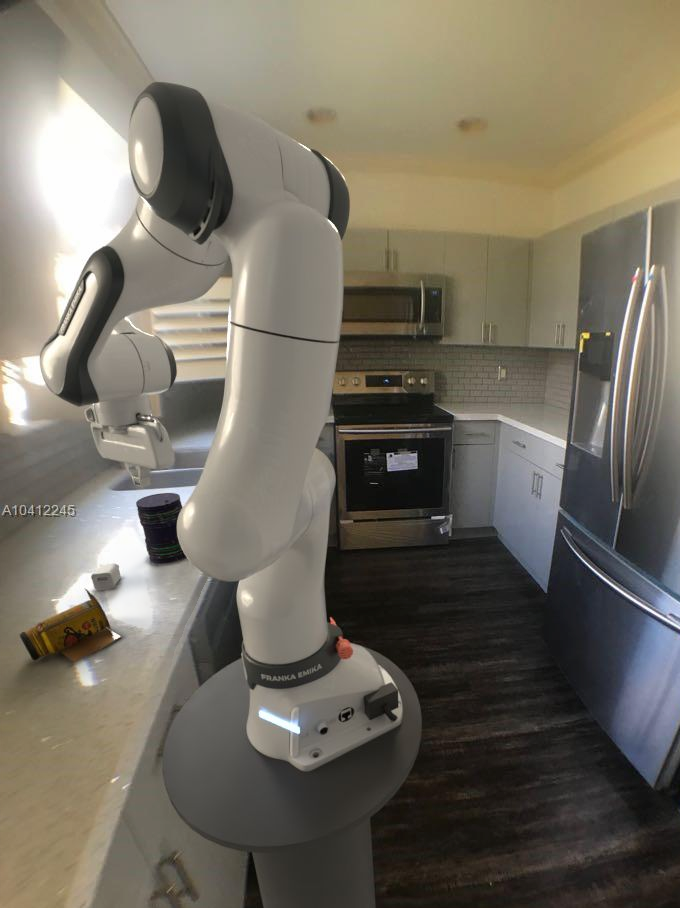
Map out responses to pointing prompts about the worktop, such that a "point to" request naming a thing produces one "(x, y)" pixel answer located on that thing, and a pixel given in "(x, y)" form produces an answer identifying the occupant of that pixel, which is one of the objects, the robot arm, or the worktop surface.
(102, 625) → the condiment
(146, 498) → the storage jar
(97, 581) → the usb wall charger
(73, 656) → the copper flat rectangular plate
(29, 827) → the worktop surface
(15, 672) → the worktop surface
